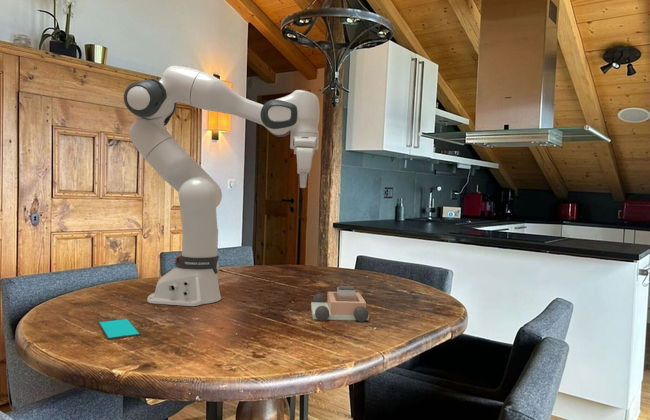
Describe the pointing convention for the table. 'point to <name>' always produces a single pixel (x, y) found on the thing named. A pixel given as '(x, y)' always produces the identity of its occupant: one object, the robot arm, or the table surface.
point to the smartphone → (118, 329)
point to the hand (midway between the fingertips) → (302, 187)
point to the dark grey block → (346, 293)
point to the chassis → (339, 308)
